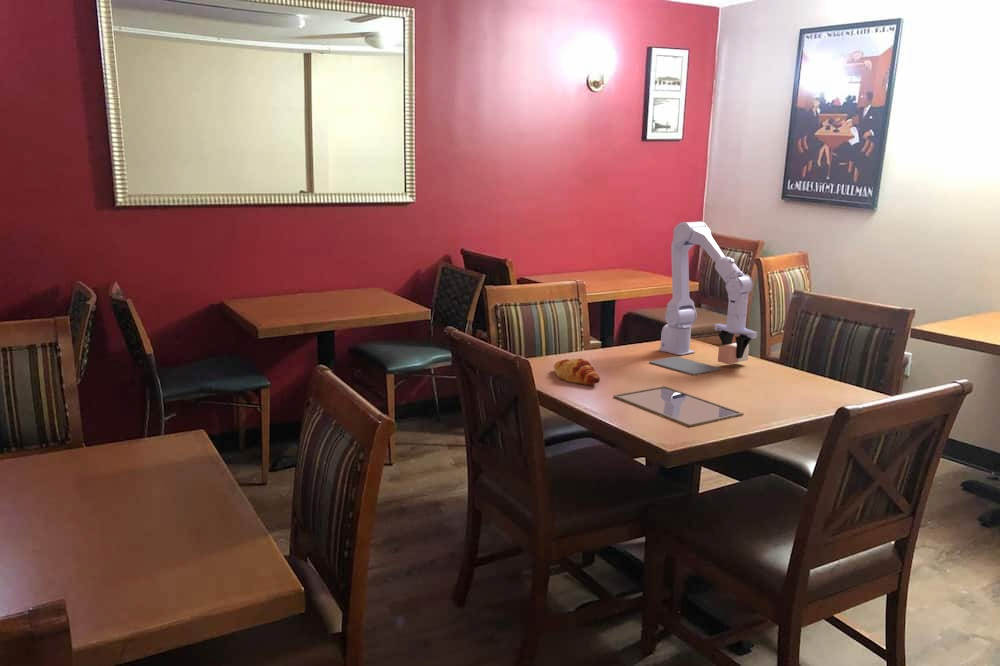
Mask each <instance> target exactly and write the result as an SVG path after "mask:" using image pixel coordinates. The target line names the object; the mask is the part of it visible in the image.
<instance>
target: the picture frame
mask: <svg viewBox="0 0 1000 666" xmlns="http://www.w3.org/2000/svg"><path fill="white" fill-rule="evenodd" d="M612 397H613V399H614V398H615V399H617V400H619V401H621V402H624V403H626V404H629V405H631V406H634V407H638V408H639V409H642V410H644V411H646V412H650V413H651V414H654V413H655V414H654V415H657V414H658V415H657V416H659V415H661V416H660V417H662V416H663V417H662V418H665V417H666V418H665V419H667V418H668V419H667V420H670V419H671V420H670V421H672V420H673V422H675V423H677V422H678V424H680V423H681V425H682V424H683V426H685V425H686V426H685V427H688V428H692V427H691V426H693V427H697V426H696V425H698V426H701V425H700V424H702V425H705V423H706V424H710V422H711V423H714V421H715V422H719V421H718V420H720V421H723V419H724V420H728V419H732V418H731V417H733V418H736V416H737V417H740V415H742V416H744V412H741V411H739V410H736V409H732V408H729V407H728V406H724V405H721V404H719V403H716V402H713V401H710V400H707V399H703V398H701V397H699V396H695V395H692V394H690V393H687V392H685V391H684V392H683V391H681V390H679V389H678V390H677V389H675V388H672V387H669V386H666V385H663V386H658V387H653V388H647V389H641V390H636V391H629V392H624V393H618V394H613V396H612ZM727 418H728V419H727Z"/></svg>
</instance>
